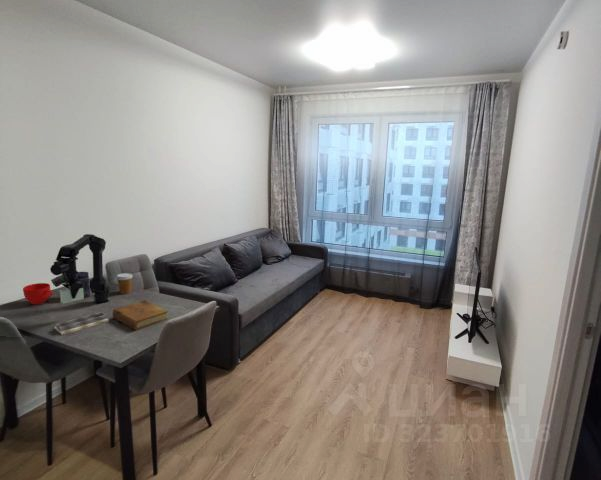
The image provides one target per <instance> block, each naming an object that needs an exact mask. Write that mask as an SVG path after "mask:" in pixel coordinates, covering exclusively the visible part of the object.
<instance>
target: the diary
mask: <svg viewBox="0 0 601 480" xmlns="http://www.w3.org/2000/svg"><path fill="white" fill-rule="evenodd" d="M167 313H168V310H166V309H165V308H162V307H160V306H158V305H156V304H153V303H151V302H149V301H148V300H147V301H146V300H141V301H137V302H135V303H134V302H133V303H132V304H128V305H124V306H121V307H120V306H119V307H118V308H117V307H116V308H114V309H113V310H112V318H113V319H115V320H117V321H119V322H120V323H122V324H123V325H125V326H127V327H128V328H130V329H133V330H134V331H139V330H142V329H145V328H147V327H151V326H153V325H156V324H159V323H161V322H164V321H167V320H169V319H168V318H167Z"/></svg>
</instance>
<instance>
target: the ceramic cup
mask: <svg viewBox="0 0 601 480" xmlns="http://www.w3.org/2000/svg"><path fill="white" fill-rule="evenodd" d="M22 291H23V297H24V299H25V300H26V301H27V302H28V303H30V304H32V305H41V304H44V303H45V302H46V301H47V300H48V299H49V298H51V297H52V296H53V290H51V284H50V283H47V282H39V283H38V282H37V283H32V284H31V283H30V284H29V285H26V286H24V287H23V288H22Z"/></svg>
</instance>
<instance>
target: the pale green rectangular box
mask: <svg viewBox="0 0 601 480" xmlns="http://www.w3.org/2000/svg"><path fill="white" fill-rule="evenodd" d="M59 296H60V303H61V304H66V303H71V302H75V301H76V302H77V301H82V300H84V293H83V288H80V289H79V290H78V292H77V295H76V297H75V298H74V299H72V296H71V292H70V290H69V289H67V288H66V287H65V288H60V289H59Z"/></svg>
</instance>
